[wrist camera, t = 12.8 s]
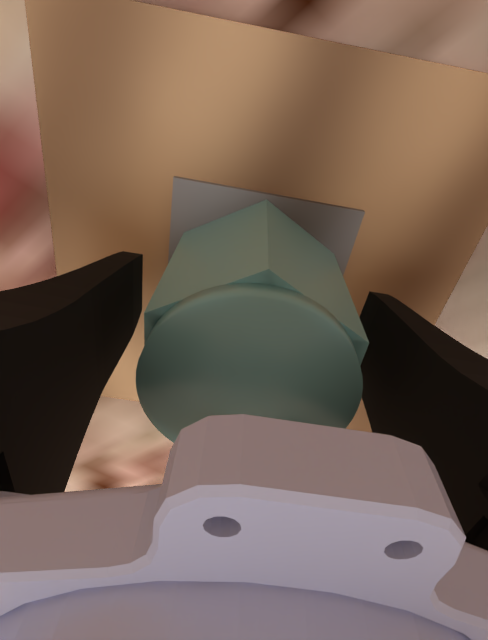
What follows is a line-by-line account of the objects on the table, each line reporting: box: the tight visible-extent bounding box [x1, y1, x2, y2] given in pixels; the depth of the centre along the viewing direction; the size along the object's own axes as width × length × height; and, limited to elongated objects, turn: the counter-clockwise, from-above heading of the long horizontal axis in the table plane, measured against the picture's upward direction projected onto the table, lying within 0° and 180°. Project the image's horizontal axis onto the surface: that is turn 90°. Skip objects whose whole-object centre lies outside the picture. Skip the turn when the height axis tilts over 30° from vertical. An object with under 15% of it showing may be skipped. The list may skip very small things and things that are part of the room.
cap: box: [136, 199, 369, 443], centre depth 11 cm, size 5×6×6 cm
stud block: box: [25, 0, 488, 432], centre depth 12 cm, size 14×14×5 cm
